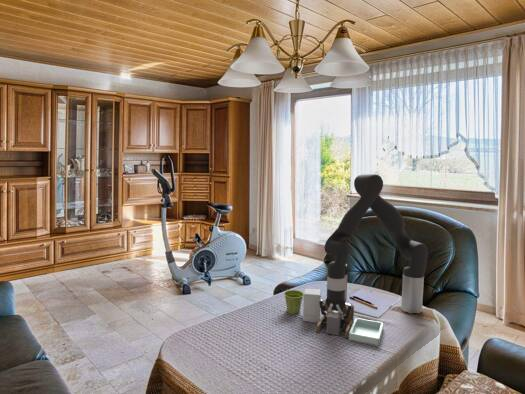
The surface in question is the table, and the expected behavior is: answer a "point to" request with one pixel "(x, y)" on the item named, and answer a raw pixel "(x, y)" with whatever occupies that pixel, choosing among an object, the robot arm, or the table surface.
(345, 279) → the travel mug
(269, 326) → the table surface
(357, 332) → the tray
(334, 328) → the grey rectangular block
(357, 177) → the robot arm
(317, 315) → the supplement box
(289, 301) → the plant pot
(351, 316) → the dock
